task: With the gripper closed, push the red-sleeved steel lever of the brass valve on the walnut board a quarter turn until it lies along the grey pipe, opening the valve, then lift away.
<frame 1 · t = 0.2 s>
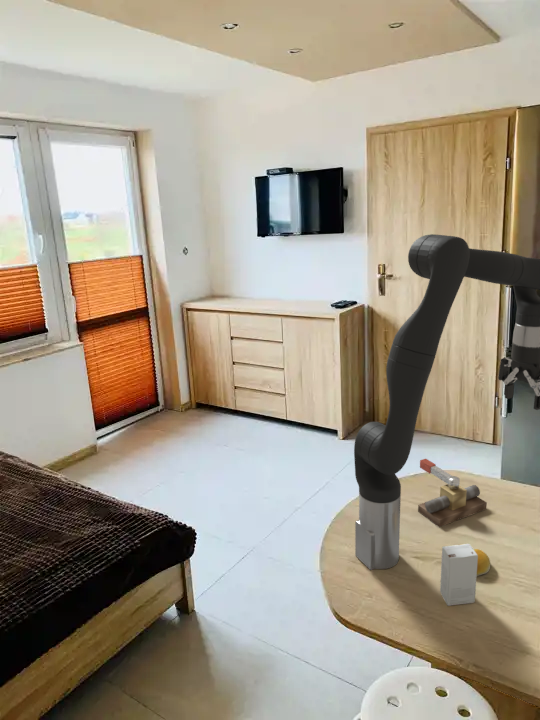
hand: (523, 403, 141), 29 cm above the table, tool pointing down, fingers open, 8 cm apart
bread roll: (467, 565, 128), on the table
valve board: (452, 510, 148), on the table
skincare box: (456, 599, 118), on the table
valve lever: (439, 473, 150), point 8 cm above the table, hinge at 90.0°
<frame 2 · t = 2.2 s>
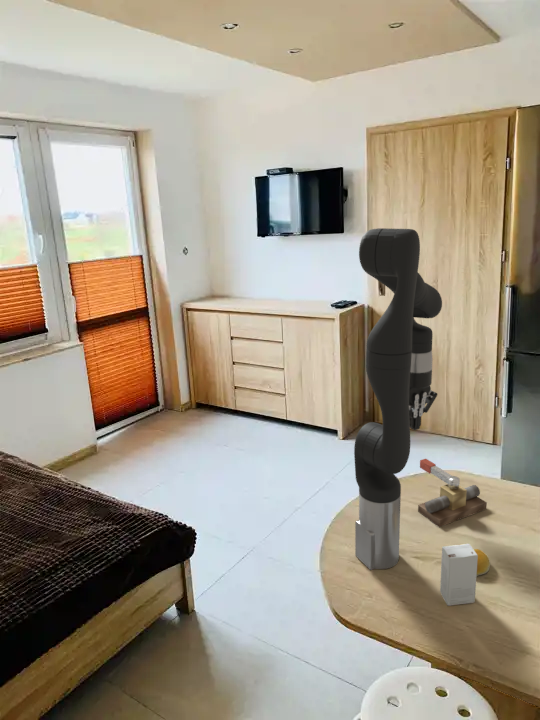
hand: (414, 428, 148), 21 cm above the table, tool pointing down, fingers closed
nothing on the table moved.
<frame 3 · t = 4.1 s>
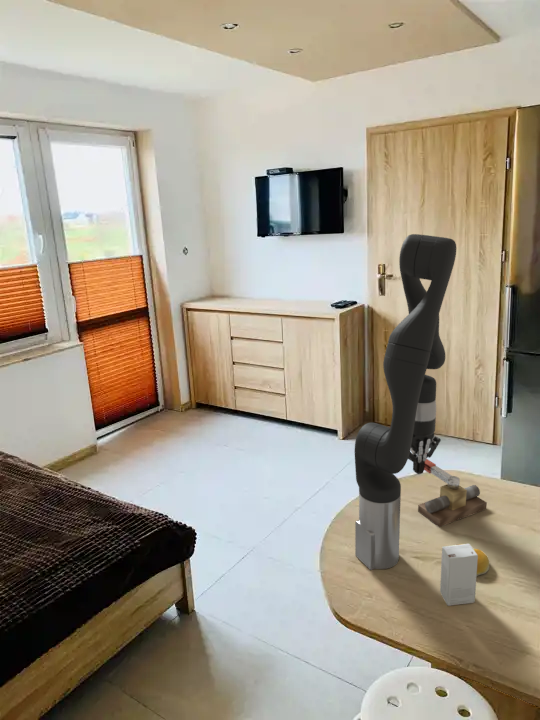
hand: (418, 472, 154), 7 cm above the table, tool pointing down, fingers closed
valve lever: (439, 473, 150), point 8 cm above the table, hinge at 89.7°, touching gripper
everything else where it was.
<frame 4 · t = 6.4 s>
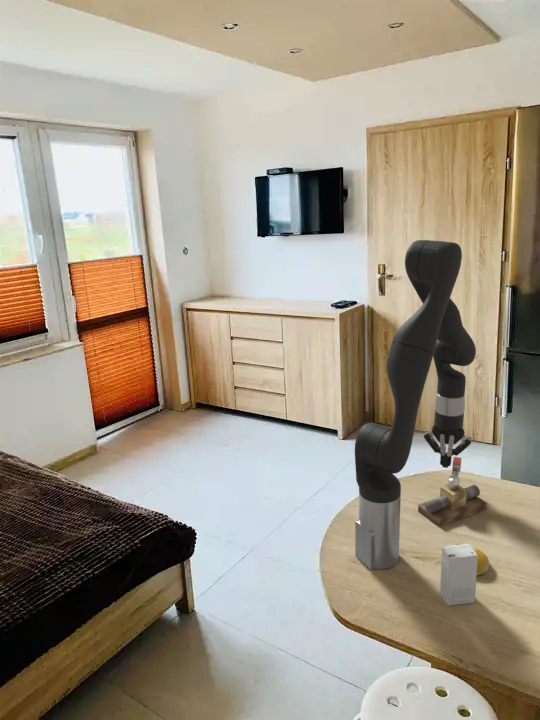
hand: (445, 466, 156), 7 cm above the table, tool pointing down, fingers closed
valve lever: (455, 472, 150), point 8 cm above the table, hinge at 42.2°, touching gripper
everything else where it was.
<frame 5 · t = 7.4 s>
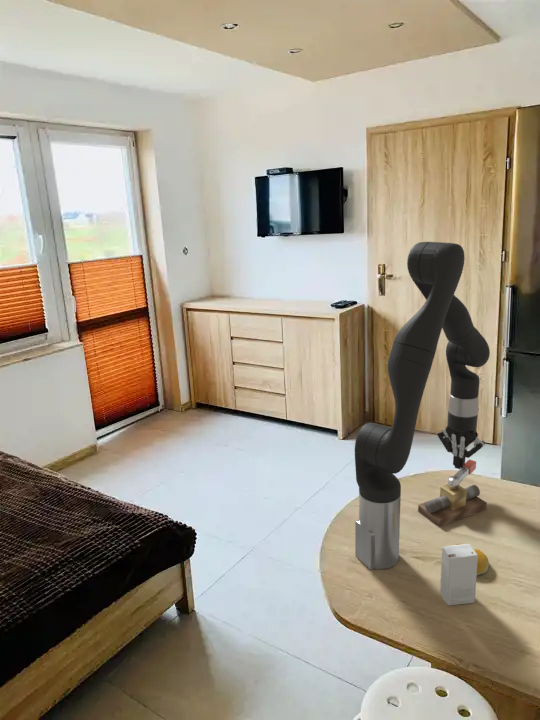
hand: (458, 467, 155), 7 cm above the table, tool pointing down, fingers closed
valve lever: (462, 474, 150), point 8 cm above the table, hinge at 22.9°, touching gripper
everything else where it was.
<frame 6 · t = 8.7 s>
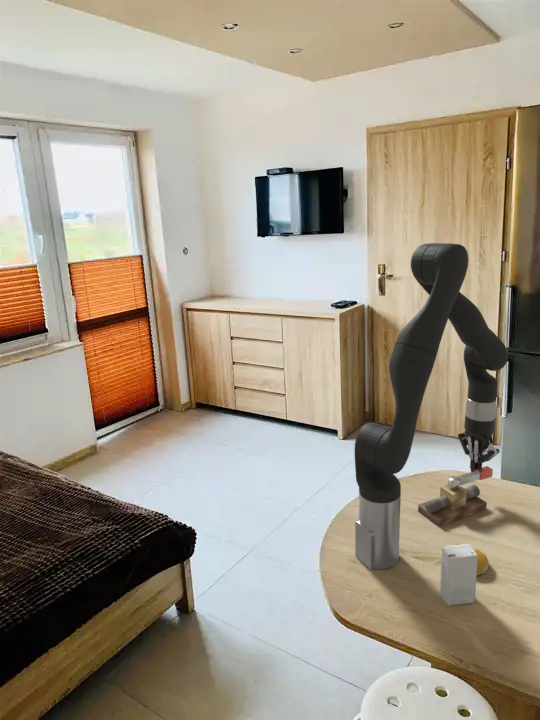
hand: (475, 472, 152), 7 cm above the table, tool pointing down, fingers closed
valve lever: (469, 477, 148), point 8 cm above the table, hinge at -2.6°, touching gripper
everything else where it was.
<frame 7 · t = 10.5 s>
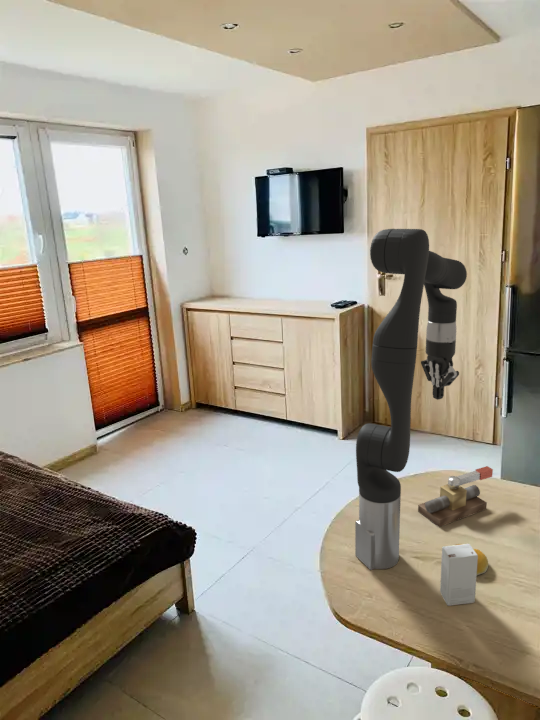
hand: (437, 398, 153), 26 cm above the table, tool pointing down, fingers closed
valve lever: (469, 477, 148), point 8 cm above the table, hinge at -2.6°
everything else where it was.
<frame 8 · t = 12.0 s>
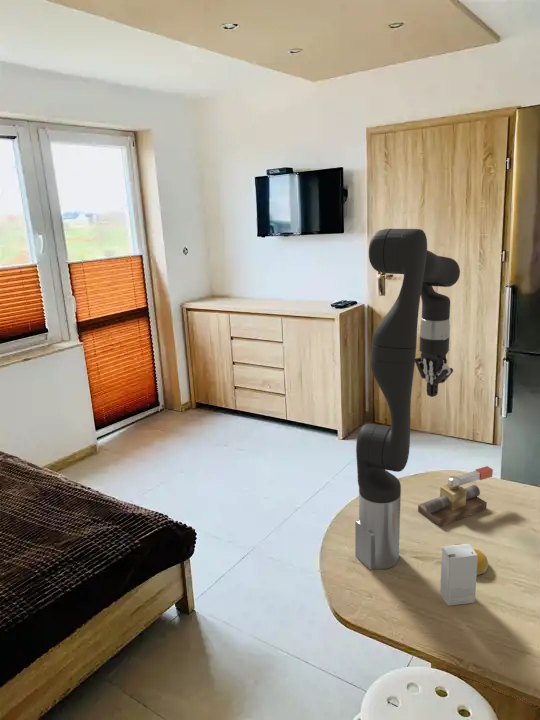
hand: (431, 395, 154), 27 cm above the table, tool pointing down, fingers closed
nothing on the table moved.
at the end: valve lever at -3° (first picture: +90°) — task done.
